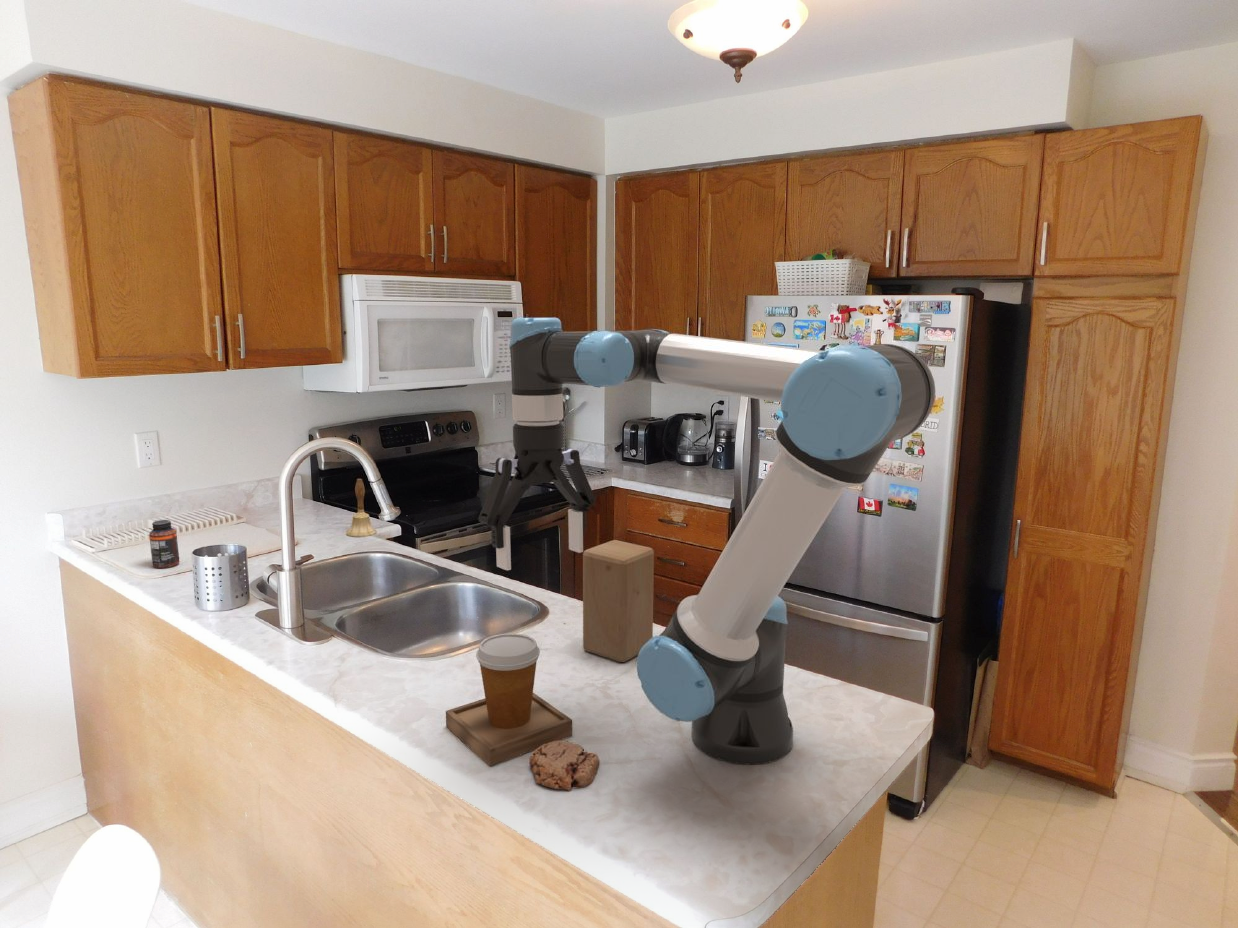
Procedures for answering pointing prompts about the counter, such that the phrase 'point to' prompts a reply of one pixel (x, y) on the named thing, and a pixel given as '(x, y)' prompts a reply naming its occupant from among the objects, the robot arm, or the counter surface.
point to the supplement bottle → (164, 545)
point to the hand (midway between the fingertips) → (541, 559)
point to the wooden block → (617, 599)
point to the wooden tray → (507, 730)
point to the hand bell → (360, 516)
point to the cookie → (563, 765)
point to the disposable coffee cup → (508, 677)
